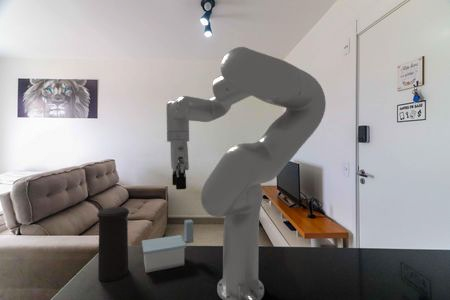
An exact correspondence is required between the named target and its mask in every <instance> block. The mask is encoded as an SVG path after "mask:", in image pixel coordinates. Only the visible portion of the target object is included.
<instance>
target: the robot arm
mask: <svg viewBox="0 0 450 300" xmlns="http://www.w3.org/2000/svg"><path fill="white" fill-rule="evenodd" d="M220 72H221V73H220V74H221V75H219V76H217V77H216V78H214V80H213V83H212V94H213V96H214V97H211V98H210V99H204V98H200V97H193V96H189V95H183V96H179V97H178V98H177V99H175V100H170V101H168V102H167V103H166V142H168V143H170V166H171V169H172V175H171V177H172V178H171V181H172V184H171V185H172V186H175V189H176V190H177V191H178V190H186V189H187V177H186V176H187V175H186V171H188V170H189V169H190V167H189V165H190V164H189V148H188V142H190V121H191V122H199V123H200V122H202V123H209V122H212V121H215V120H217V119H219V118H221V117H224V116H225V115H227V113H228V112H229V111H230V109H231V108H232V106H233V105H234V104H236V103H239V102H241V101H243V100H245V99H247V98H250V97H251V96H252V97H254V98H256V99H258V100H260V101H262V102H265V103H267V104H270V105H273V106H277V107H281V108H285V111H284V112H283V113H282V114H281V115H280V116H279V117H277V118H276V119H275V120H274V121H273V122H272V123H271V124H270V126H269V127H268V129H267V130H266V132H265V133H264V134H263V135H262V136H261V137H260V138H259V140H258V141H256V142H252V143H247V142H245V143H239V144H235V145H234V146H232V147H230V148H229V149H228V150H227V151H226V152H225V153H224V154H222V157H221V158H220V159H219V161H218V162H217V164H216V166H215V167H214V169H213V170H212V171H211V172H210V175H209V176H208V178H207V179H206V181H205V182H204V185H203V187H202V189H201V192H200V193H201V194H200V200H201V206H202V208H203V209H204V211H205V212H206V213H207V214H208V215H210V216H212V217H215V218H222V217H224V219H223V220H224V221H223V229H222V230H223V233H222V244H223V245H222V278H221V279H220V280H219V281H218V283H217V288H216V290H217V294H218V296H219V298H220V299H222V300H262V298H263V297H264V295H265V288H264V284H263V282H262V281H261V280H259V246H260V245H259V244H260V243H259V242H260V241H259V240H260V239H259V235H260V213H261V208H262V204H263V203H262V202H263V197H264V196H263V193H264V192H263V187H262V184H264V183H268V182H271V181H273V180H274V179H275V178H277V176H278V175H280V173H281V171H282V170H283V169H285V167H286V166H287V165H288V163H289V162H290V161H291V160H292V159H293V158H294V156H296V154H297V153H298V152H299V150H300V148H302V147H303V145H305V144H306V142H307V141H308V140H309V138H310V137H311V136H313V134H314V133H315V131H316V130H317V129H318V127H319V126H320V124H321V122H322V120H323V118H324V115H325V111H326V95H325V92H324V89H323V88H322V85H321V83H319V81H318V80H317V79H316V78H315V77H314V76H312V74H310V73H308V72H307V71H304V70H302V69H301V68H299V67H297V66H295V65H293V64H291V63H290V62H287V61H286V60H283V59H281V58H277V57H274V56H272V55H268V54H265V53H262V52H258V51H256V50H254V49H251V48H249V47H245V46H238V47H235V48H233V49H230V51H228V52H227V53H226V54H225V55H224V57H223V59H222V61H221V65H220Z"/></svg>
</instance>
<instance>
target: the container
mask: <svg viewBox="0 0 450 300" xmlns="http://www.w3.org/2000/svg"><path fill="white" fill-rule="evenodd" d="M129 213H130V210H129V209H128V208H126V207H125V206H124V207H123V206H113V207H107V208H103V209H101V210H99V211H98V213H97V214H96V216H97V218H98V264H97V265H98V270H97V271H98V272H97V273H98V274H97V275H98V280H100V281H102V282H112V281H116V280H119V279H122V278H123V277H124V276H126V275H127V274H128V271H129V246H128V245H129V241H128V240H129V239H128V238H129V237H128V236H129V234H128V233H129V232H128V227H129V226H128V220H129V219H128V217H129Z"/></svg>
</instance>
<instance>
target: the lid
mask: <svg viewBox="0 0 450 300" xmlns="http://www.w3.org/2000/svg"><path fill="white" fill-rule="evenodd" d="M183 223H184V227H183V228H184V234H183V235H184V237H182V235H181V234H179V235H172V236H170V235H169V236H164V237H158V238H157V237H156V238H152V239H151V238H150V239H143V240H141V246H142V252H143V256H144V255H145V254H151V253H157V252H163V251H169V250H175V249H181V248H184V249H186V248H187V247H188V246H187V244H192V243H194V221H193V220H192V219H184V222H183Z"/></svg>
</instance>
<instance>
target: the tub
mask: <svg viewBox="0 0 450 300" xmlns="http://www.w3.org/2000/svg"><path fill="white" fill-rule="evenodd" d="M143 263H144V265H143V266H144V270H145V271H144V272H145V273H151V272H156V271H161V270H162V271H163V270H167V269H173V268H176V267H181V266H185V248H181V249H175V250H169V251H163V252H157V253H151V254H145V255H144V254H143Z"/></svg>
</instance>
